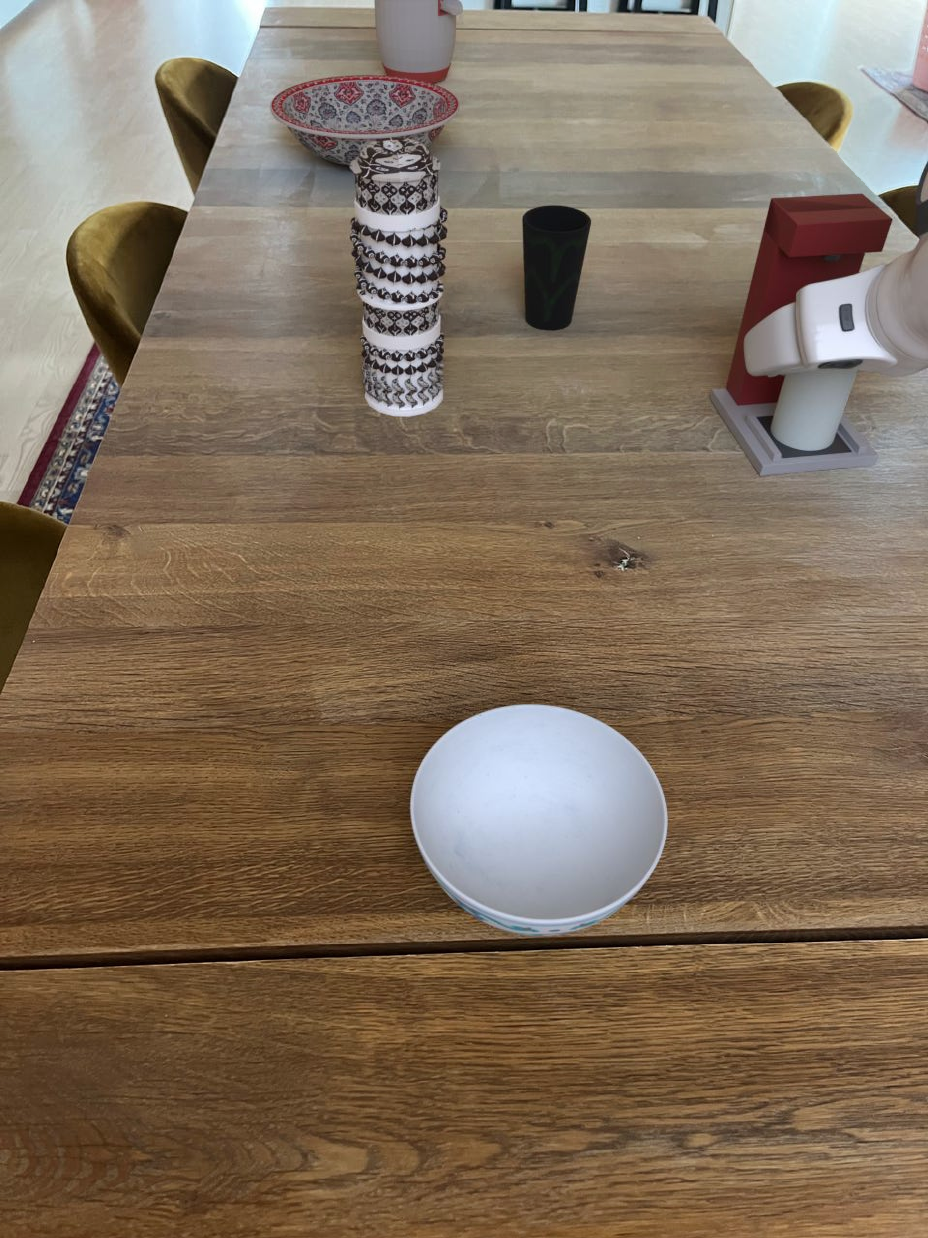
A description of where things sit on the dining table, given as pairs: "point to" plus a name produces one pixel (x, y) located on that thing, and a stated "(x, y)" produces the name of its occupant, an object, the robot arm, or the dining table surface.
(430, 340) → the stacked patterned cylinder
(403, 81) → the ceramic bowl
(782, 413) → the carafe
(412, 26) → the citrus juicer
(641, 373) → the dining table surface
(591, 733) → the chinaware
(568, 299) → the cup
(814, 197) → the coffee machine
